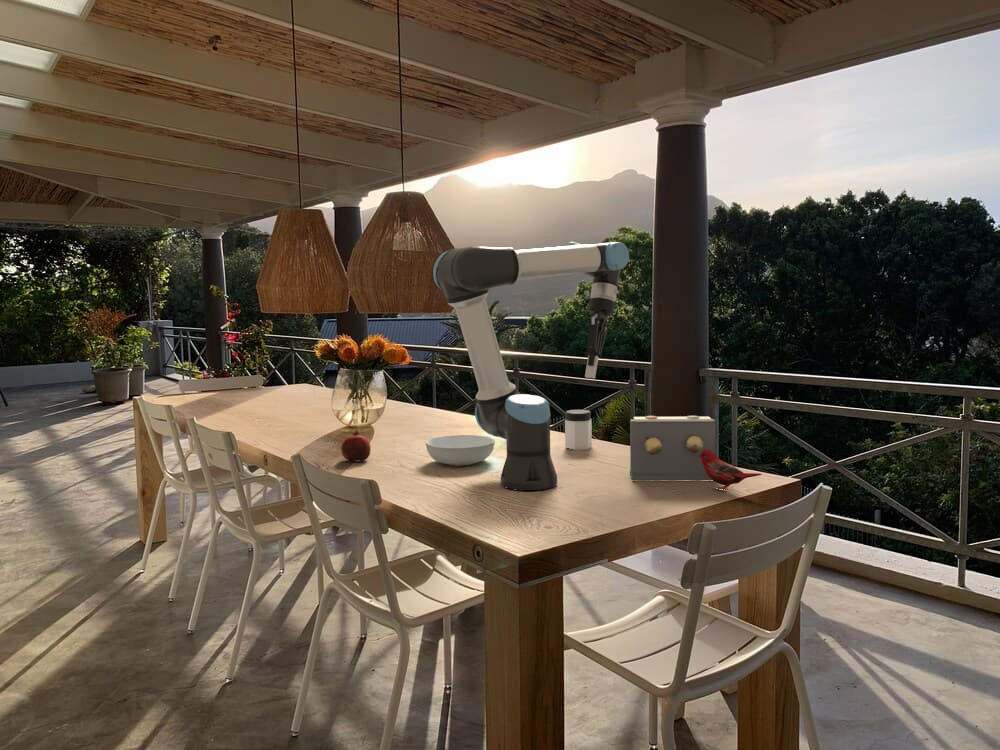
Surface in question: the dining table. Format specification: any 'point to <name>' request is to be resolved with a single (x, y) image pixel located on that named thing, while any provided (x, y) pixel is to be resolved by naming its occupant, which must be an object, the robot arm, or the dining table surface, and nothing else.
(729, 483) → the decorative bird figurine
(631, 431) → the console
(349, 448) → the fruit
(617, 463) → the dining table surface
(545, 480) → the robot arm
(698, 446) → the knob
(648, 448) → the brass knob
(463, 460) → the serving bowl
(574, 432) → the jar
